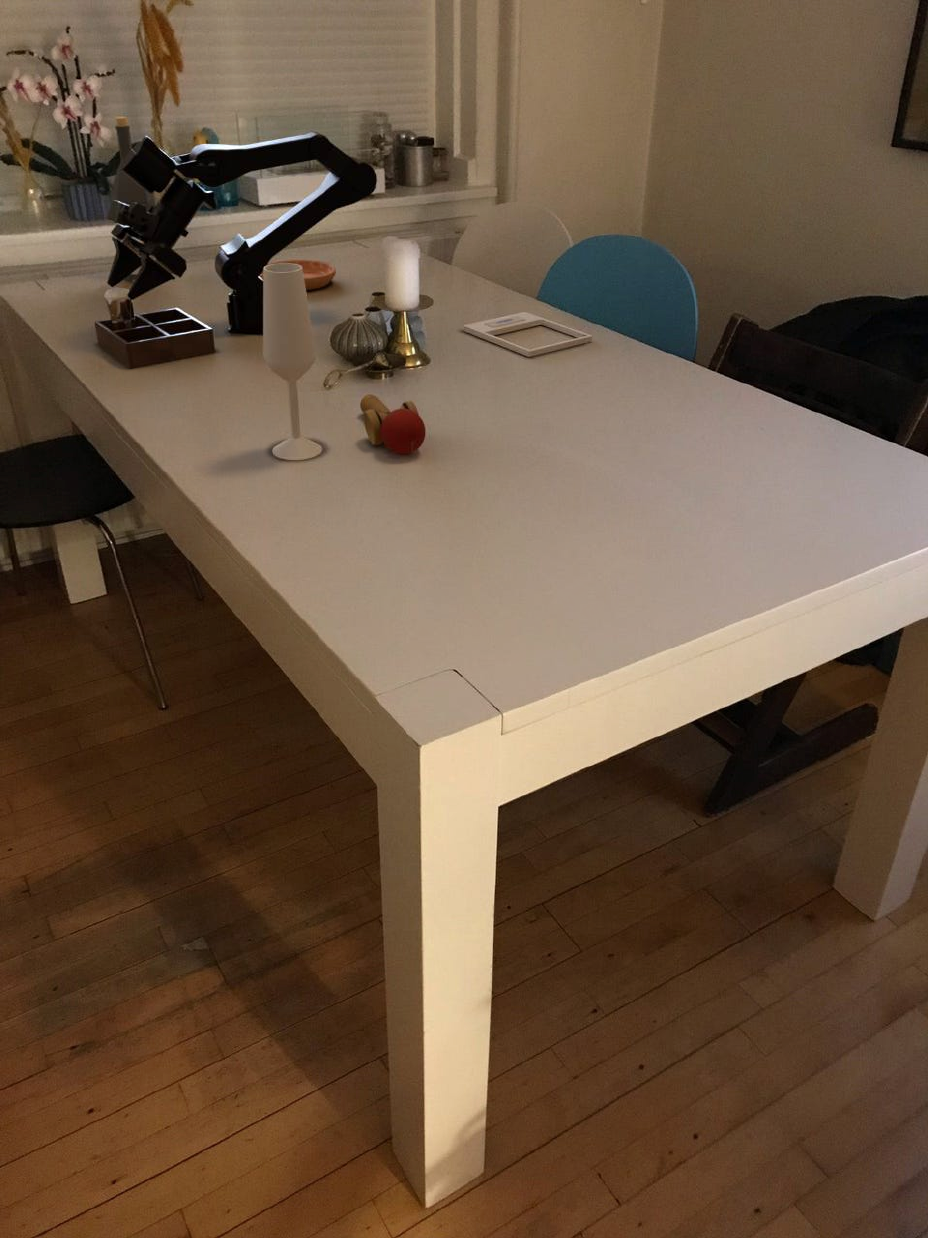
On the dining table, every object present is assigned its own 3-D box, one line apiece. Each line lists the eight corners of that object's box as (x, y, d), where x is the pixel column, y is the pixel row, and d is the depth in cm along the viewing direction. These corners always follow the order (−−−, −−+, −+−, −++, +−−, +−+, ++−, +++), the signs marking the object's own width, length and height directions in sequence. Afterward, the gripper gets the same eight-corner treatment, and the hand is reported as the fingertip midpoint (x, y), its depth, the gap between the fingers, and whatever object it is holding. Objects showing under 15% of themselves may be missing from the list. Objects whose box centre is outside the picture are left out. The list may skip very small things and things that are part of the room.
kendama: (340, 427, 150) (379, 457, 135) (344, 383, 148) (383, 409, 132) (390, 429, 153) (434, 459, 138) (395, 386, 151) (439, 412, 135)
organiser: (180, 330, 184) (177, 307, 182) (215, 352, 174) (212, 328, 172) (98, 344, 176) (94, 321, 174) (129, 368, 166) (125, 344, 164)
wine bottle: (173, 276, 215) (151, 116, 199) (144, 284, 209) (119, 121, 193) (145, 270, 218) (122, 113, 202) (116, 278, 212) (89, 117, 196)
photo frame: (525, 310, 192) (592, 334, 180) (524, 316, 193) (592, 341, 181) (463, 324, 184) (529, 350, 173) (463, 330, 185) (529, 356, 173)
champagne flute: (267, 443, 141) (250, 263, 128) (315, 437, 143) (303, 259, 130) (277, 462, 136) (261, 276, 123) (327, 456, 138) (316, 272, 125)
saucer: (252, 276, 216) (251, 261, 214) (328, 271, 220) (327, 256, 218) (263, 296, 203) (262, 280, 201) (343, 290, 207) (343, 275, 205)
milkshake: (149, 342, 176) (140, 282, 170) (120, 348, 172) (110, 287, 167) (136, 335, 178) (127, 276, 173) (108, 342, 175) (97, 282, 170)
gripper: (113, 171, 171) (59, 249, 171) (156, 188, 158) (98, 273, 158) (165, 215, 179) (114, 290, 179) (211, 236, 166) (155, 316, 167)
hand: (119, 291), depth 171 cm, fingers open, 9 cm apart
